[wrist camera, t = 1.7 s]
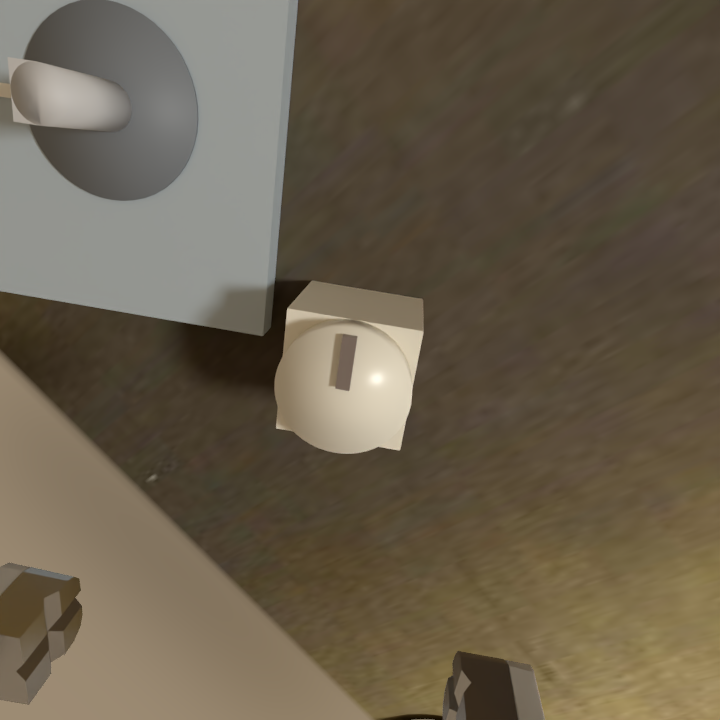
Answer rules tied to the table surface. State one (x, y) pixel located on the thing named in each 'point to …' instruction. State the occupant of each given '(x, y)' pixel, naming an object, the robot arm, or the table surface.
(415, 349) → the knob
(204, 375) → the table surface
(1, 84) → the panel
